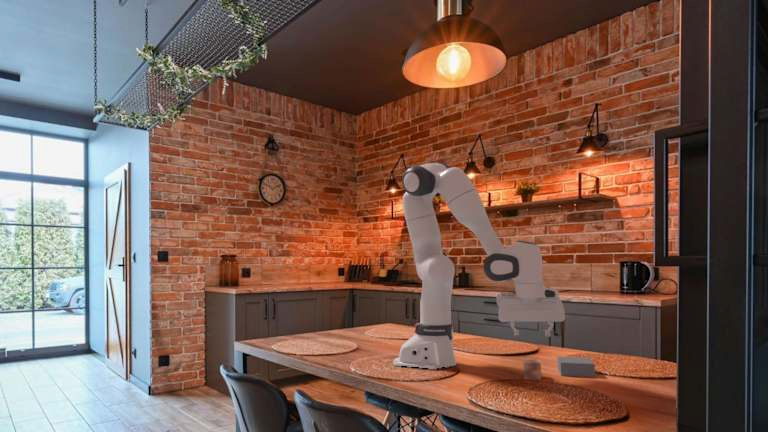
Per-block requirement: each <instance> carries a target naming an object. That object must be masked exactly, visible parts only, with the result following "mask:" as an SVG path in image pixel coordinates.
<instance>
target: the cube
mask: <svg viewBox="0 0 768 432" xmlns="http://www.w3.org/2000/svg"><path fill="white" fill-rule="evenodd" d="M522 363H523V364H522V365H523V378H524V380H535V381H536V380H538V381H541V380H542V365H541V364H542V363H541V360H540V359H523V360H522Z"/></svg>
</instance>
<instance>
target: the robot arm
mask: <svg viewBox="0 0 768 432" xmlns="http://www.w3.org/2000/svg"><path fill="white" fill-rule="evenodd" d="M401 177H402V178H401V183H402V184H401V185H402V187H403V189H404V191H405V193H403V196H402V207H403V208H402V209H403V215H404V219H405V220H404V221H405V223H406V227H407V231H408V234H409V238H410V243H411V246H412V253H413V260H414V265H415V269H416V272H417V273H416V274H417V276H418V278H419V279H420V280H421V281H422V282H421V283H422V285H421V296H420V300H419V307H420V308H419V312H420V313H419V317H420V318H419V319H420V320H419V321H420V322H417V323H415V326H414V334H413V335H412V336H411V337H410V338H409V339H407V340H406V341H405V342H404V343H403V344H402V345H401V347H400V348H399V349H400V350H399V354H398V356H397V357H396V358H394V360H393V361H392V365H393V364H394V365H393V366H394V367H401V366H407V367H406V368H411V367H419V368H418V369H422V368H428V369H427V370H438V369H437V368H439V369H443V368H442V367H445V368H450V366H451V367H454V366H456V365H457V364H458V363H457V360H456V355H455V352H454V351H455V350H454V346H453V345H454V344H453V339H454V327H453V323H452V294H453V293H452V292H453V288H454V287H453V286H454V276H455V275H456V274H455V273H456V269H455V267H456V266H455V264H454V262H453V261H452V260H451V259H450V258H449V257H448V256H446V255H445V254H444V252H443V247H442V234H441V230H440V226H439V223H438V219H437V216H436V211H435V209H434V204H433V199H434V198H435V197H440V196H442V198H443V199H444V201H445V204H446V205H447V207H448V209H449V210H450V213H451V214H452V216H453V218H455V219H456V221H458V223H460V224H461V225H462V226H464V227H465V228H467V229H468V230H470V231H471V232H472V233H473V234H474V235H475V237H476V238H477V240H478V241H479V243H480V245H481V246H482V248H483V250H484V252H485V253H486V255H487V257H486V258H485V260H484V262H483V272H484V273H485V275H486V276H485V277H487V278H488V279H489V280H490V281H493V282H497V283H503V282H510V281H512V280H513V281H514V291H507V292H505V291H504V292H503V291H502V292H500V293H498V294H497V295H496V305H497V306H498V320H499V321H500V322H501V323H509V326H510V328H511V329H512V330H513V334H514V335H513V336H514V337H520V330H519V329H516V328H515V325H516V324H515V323H523V322H525V323H537V322H538V323H540V322H541V323H543V322H544V323H548V325H549V326H548V328H547V329H544V332H545V333H544V335H545V337H551V336H552V334H551V331H552V329H553V327H554V323H556V322H557V323H559V322H561V323H562V322H564V321H565V319H566V313H565V308H564V304H563V302H562V300H561V298H559V297H560V291H558V289H555V288H552V287H549V286H545V285H544V284H545V283H544V279H543V276H542V275H543V274H542V273H543V267H544V266H543V257H542V251H541V248H540V247H539V245H538V244H537V243H535V242H531V241H525V240H516V241H514V242H513V243H512V244H511V245H509V246H507V247H505V246H504V244H503V243H502V241H501V239H500V237H499V236H498V234H497V232H496V231H495V229H494V227H493V225H492V224H491V221H490V219H489V216H488V214H487V211H486V208H485V205H484V203H483V200H482V198H481V196H480V194H479V192H478V190H477V188H476V186H475V185H474V184H473V182H472V181H471V179H470V178H469V176H468V175H467V174H466V172H464V170H462V169H461V168H460V167H457V166H456V167H455V166H453V167H451V166H449V164H446V163H443V162H430V163H429V162H428V163H423V164H421V165H413V166H411V167H409V168H408V169H406V170H405V171H404V173H403V174H402V176H401Z"/></svg>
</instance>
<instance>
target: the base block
mask: <svg viewBox="0 0 768 432" xmlns="http://www.w3.org/2000/svg"><path fill="white" fill-rule="evenodd" d="M595 368H596V367H595V363H594V361H593V360H592V359H591V358H590V357H587V356H586V357H585V356H584V357H583V356H557V370H558V372H559V373H560V376H562V377H563V376H565V377H585V378H586V377H587V378H596V370H595Z"/></svg>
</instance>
